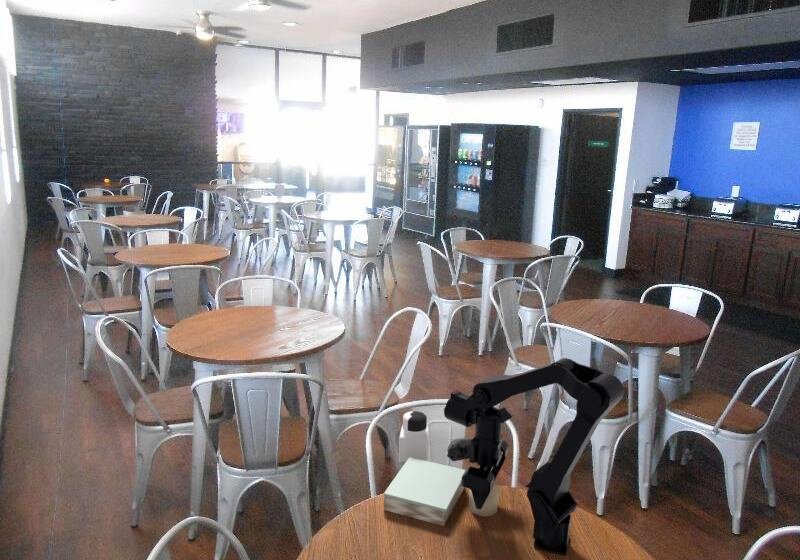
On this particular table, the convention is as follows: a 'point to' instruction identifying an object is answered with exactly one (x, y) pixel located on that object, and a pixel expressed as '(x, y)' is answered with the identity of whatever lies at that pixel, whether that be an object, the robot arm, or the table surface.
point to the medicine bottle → (413, 437)
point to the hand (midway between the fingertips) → (483, 497)
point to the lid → (425, 484)
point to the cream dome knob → (486, 503)
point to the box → (421, 509)
